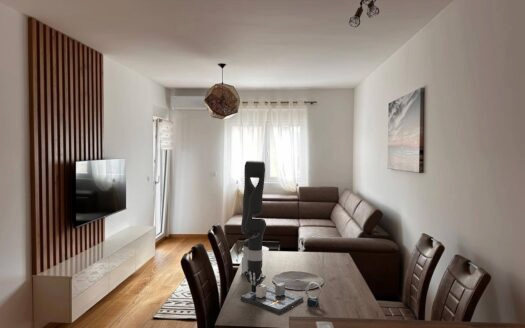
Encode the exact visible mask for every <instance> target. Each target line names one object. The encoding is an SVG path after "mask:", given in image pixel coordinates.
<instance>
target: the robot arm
mask: <svg viewBox="0 0 525 328" xmlns="http://www.w3.org/2000/svg"><path fill="white" fill-rule="evenodd" d="M243 172H244V173H243V174H244V176H243V177H244V182H243V184H244V185H243V186H244V187H243V197H242V217H241V223H240V231H241V233H242V234H243V235H248V236H249V235H252V236H251V237H249V238H246V239H245V240H243V242H242V245H243V246H242V247H243V249H242V257H241V274H242V275H243V276H245V279H246V280H247V282H248V283H249V284H250V285H251V287H250V288H251V291H252V292H253V293H255V292H256V286H258V285H261V284H263V282H264V280H266V275H264V274H263V270H262V268H263V240H264V234H265V231H266V228H267V222H266V221H265V219H264V218H254V217H256V216H260V215H262V213H263V195H264V187H265V180H266V179H265V177H266V164H265V161H262V160H246V161H245V163H244V171H243ZM252 178H253V179H258V180H257V181H258V182H257V184H256V186H255V185H254V184H253V183H254V182H252Z"/></svg>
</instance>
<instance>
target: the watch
mask: <svg viewBox="0 0 525 328" xmlns="http://www.w3.org/2000/svg"><path fill="white" fill-rule="evenodd" d="M312 285H316V286H317V287H318V288H319V292H318V294H317V295H316V296H315V295H310V294H309V293H308V291H309V289H310V288H311V287H312ZM304 293H305V295H306V297H307V300H306V301H307V303H306V306H307V307H312V308H317V306H318V304H319V298H320V295H321V293H322V287H321V284H320V283H318V282H316V281H314V280H313V281H310V282H309V283H307V285H306V286H305V288H304Z"/></svg>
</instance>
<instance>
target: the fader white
mask: <svg viewBox="0 0 525 328" xmlns="http://www.w3.org/2000/svg"><path fill="white" fill-rule="evenodd" d="M266 285H267V284H263V283H261V284H259V285H258V286H256V297H259V298H262V297H264V296H266Z"/></svg>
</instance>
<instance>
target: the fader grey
mask: <svg viewBox="0 0 525 328" xmlns="http://www.w3.org/2000/svg"><path fill="white" fill-rule="evenodd" d="M274 288H275V295H278V296H281V295H283V294H285V291H286V283H284V282H279V283H276V284H275V285H274Z"/></svg>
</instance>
